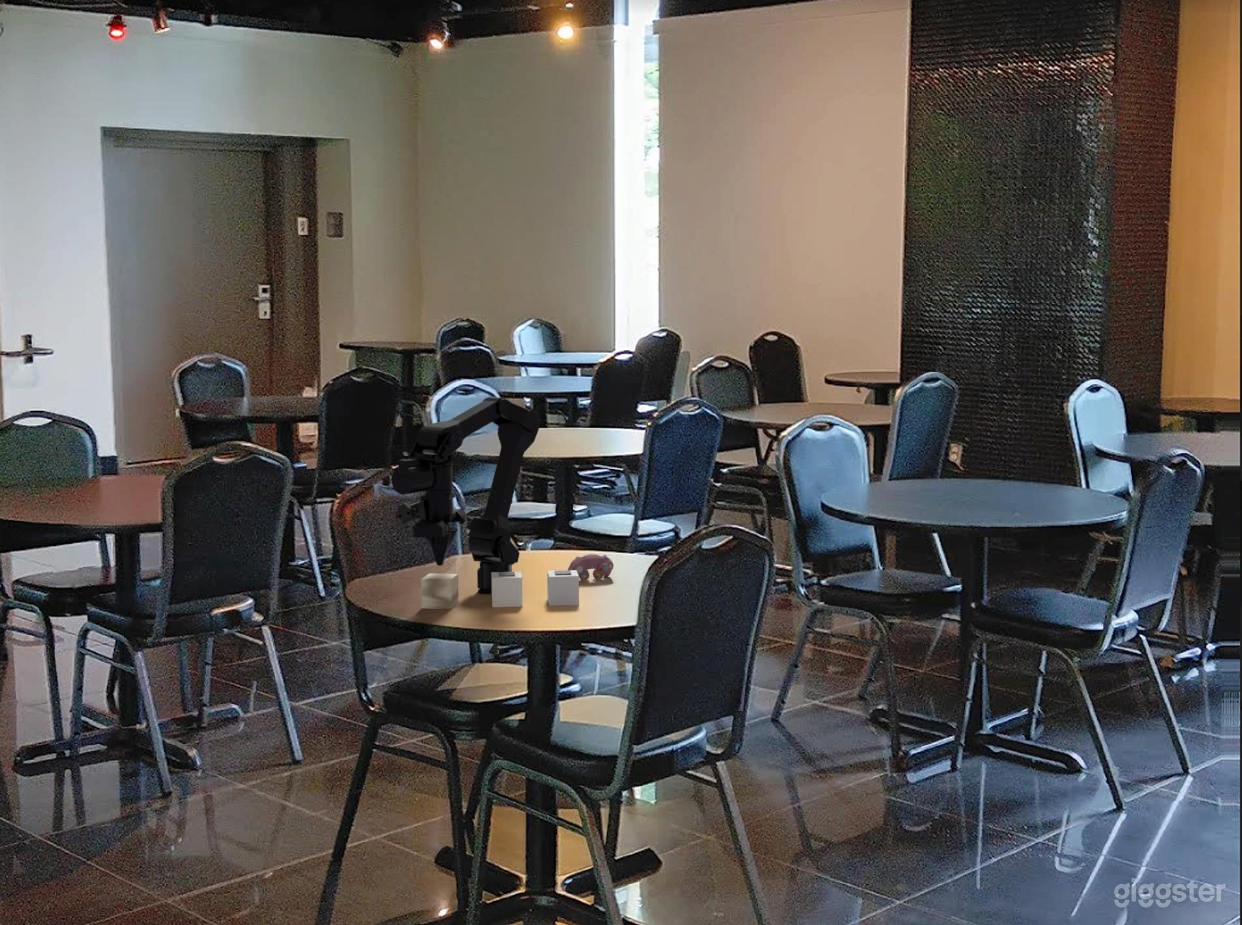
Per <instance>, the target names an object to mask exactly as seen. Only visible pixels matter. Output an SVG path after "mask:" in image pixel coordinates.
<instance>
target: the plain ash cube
mask: <svg viewBox="0 0 1242 925" xmlns="http://www.w3.org/2000/svg"><path fill="white" fill-rule="evenodd" d="M420 584H421V586H420V587H421V588H420V589H421V609H431V610H432V609H434V610H435V609H436V610H452V609H453V608H455V606H457V605H458V604H459V574H458V573H434V572H433V573H430V572H429V573H427V575H425V576H424V577H422V578H421V579H420Z"/></svg>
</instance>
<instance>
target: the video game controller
mask: <svg viewBox="0 0 1242 925" xmlns="http://www.w3.org/2000/svg"><path fill="white" fill-rule="evenodd" d="M613 569H614V563H613V561H612V559H610V557H608V555H606V554H603V555H599V554H594V553H593V554H592V553H589V554H587V555H583V556H576V557H575V558H574V559H573V560H572V561H571V562H570V564H569V566H568V568H567V570H577V573H578V575H579V580H580V581H587V580H588V579H589V578H590V572H589V570H593V571H592V577H593V578H594V579H595V580H602V579H603V578H604V577H606V578H607V577H609V576H610V575H611V574H612V571H613Z"/></svg>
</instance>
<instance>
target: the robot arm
mask: <svg viewBox="0 0 1242 925" xmlns="http://www.w3.org/2000/svg"><path fill="white" fill-rule="evenodd" d="M491 423H493V425H495V426H497V437H498V440H499V444H500V451H499V455H498V458H497V462H496V465H495V466H496V467H495V471H494V475H493V479H492V482H491V486H490V489H489V490H490V491H489V493H488V498H487V503H486V505H485V510H484V512H483V513H482V514H481V516H480V517H473V519H472V520H471V524H470V529H469V532H468V533H467V537H468V541H467V543H468V547H469V550H470V553H471V556H472V560H473V562H479V568H477V570H476V571H477V572H476V574H477V576H476V577H477V578H476V580H477V581H476V582H477V584H476V585H477V593H480V594H492V572H513V568H512V567H513V565H515V564H517V563H518V561H519V558H520V551H519V550H518V549H517V548H516V546H515V545H514V543H512V541H511V539H512V528H511V526H510V521H509V513H510V510H511V506H512V502H513V498H514V493H515V490H516V488H517V487H516V486H517V483H518V477H519V473H520V470H521V466H522V462H523V458H524V454H525V452H526V451H527V450H528V449H529V448H530V447H531V446H532V445H533V444H534V442H535V440H536V438H537V436H538V432H539V430H540V426H541V420H540V419H539V417H538V414H537V412H535V411H534V410H531V409H527V408H525V407H522V406H520V405H518V404H515V403H513V402H511V401H510V400H508V399H506V397H499V396H498V397H497V396H488V397H485V398H484V399H483V400H482V401H481V402H479V403H477V404H475V405H474V406H472V407H471V408H468V409H467V410H466V411H464V412H461V413H459V415H456V416H454V417H453V418H451V419H448V420H445V421H439V422H434V423H430V424H427V425H424V426H423V427H421V428H420V429H419V431H418V434H417V437H416V439H415V441H414V444H413V445H412V448H411V450H410V451H409V454H408V456H407V459H405V458H402V459H399V460H398V466H397V467H395V469H393V472H392V475H391V478H390V480H391V484H392V485H391V486H392V487H393V490H394V491H395V492H396V493H397V494H399V495H400V496H401V495H402V496H405V495H410V494H415V493H422V492H423V494H421V495H420V496H419V501H416V502H414V503H410V504H409V503H407V502H404V503H400V504H398V505H397V508H396V509H397V510H395V511H394V512H395V519H396V520H398V521H399V524H400V526H403V525H406V524H407V523H409V522H412V521H415V520H417V519H419V521H417V522H415V523H414V524H413V526H412V527H411V537H412V538H424V539H426V540H428V541H429V544H430V547H431V550H432V553H433V556H434V560H435V563H436V566H439V567H441V566H443V565H444V563H445V560H446V559H447V556H448V554H449V550H450V548H451V546H452V543H453V541H454V538H455V536H456V534H457V532H458V528H457V527H456V528H455V527H452V525H451V524H450V523H458V525H463V524H464V523H466V514H465V511H463V510H462V509H461V508H454V498H456V491H453V488H454V487H453V466H455V465H459V464H460V462H461V461H460V459H458V458H457V457H456V456H455V455H454V453H455V452H456V451H458V449H459V448H461V447H462V445H463V442H464V440H465V439H466V438H467V437H470V436H471V435H473V434H474V433H475V432H477V431H479V430H481V429H482V428H484V427H486V426H488V425H489V424H491Z"/></svg>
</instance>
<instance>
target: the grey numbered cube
mask: <svg viewBox="0 0 1242 925" xmlns="http://www.w3.org/2000/svg"><path fill="white" fill-rule="evenodd" d="M546 574H547V575H546V576H547V578H546V580H547V581H546V582H547V588H546V589H547V592H546V593H547V603H548V605H549V606H550V607H551V606H579V605H580V578H579V575H578V573H577V570H568V569H567V570H564V569H563V570H547V571H546Z"/></svg>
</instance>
